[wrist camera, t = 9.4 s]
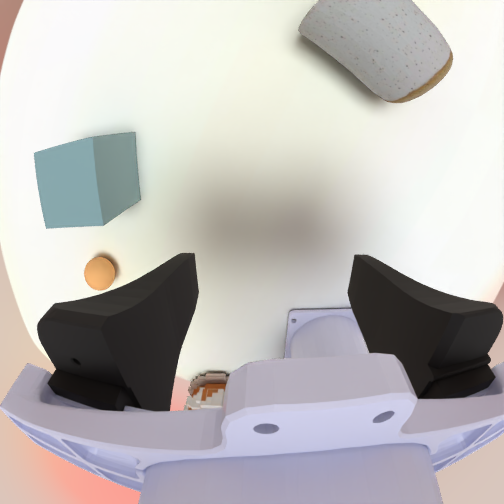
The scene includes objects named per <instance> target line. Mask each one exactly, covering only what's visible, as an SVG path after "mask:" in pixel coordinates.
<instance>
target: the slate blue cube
mask: <svg viewBox="0 0 504 504" xmlns="http://www.w3.org/2000/svg"><path fill="white" fill-rule="evenodd" d="M34 159H35V168H36V176H37V183H38V190H39V196H40V202H41V207H42V212H43V217H44V221H45V226H46V229H47V228H64V227H84V226H104V225H105V224H107V223H108V222H109V221H111V220H112V219H114V218H115V217H116V216H118V215H119V214H121V213H122V212H123V211H125V210H126V209H128V208H129V207H131V206H132V205H134V204H135V203H137V202H138V201H140V200H141V198H140V189H139V179H138V168H137V156H136V140H135V132H130V133H120V134H111V135H103V136H95V137H90V138H86V139H81V140H77V141H73V142H69V143H66V144H62V145H58V146H55V147H52V148H48V149H45V150H42V151H38V152H35V153H34Z"/></svg>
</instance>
